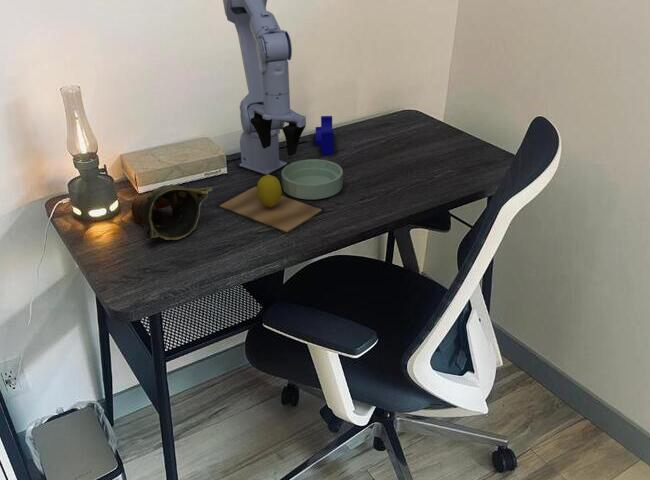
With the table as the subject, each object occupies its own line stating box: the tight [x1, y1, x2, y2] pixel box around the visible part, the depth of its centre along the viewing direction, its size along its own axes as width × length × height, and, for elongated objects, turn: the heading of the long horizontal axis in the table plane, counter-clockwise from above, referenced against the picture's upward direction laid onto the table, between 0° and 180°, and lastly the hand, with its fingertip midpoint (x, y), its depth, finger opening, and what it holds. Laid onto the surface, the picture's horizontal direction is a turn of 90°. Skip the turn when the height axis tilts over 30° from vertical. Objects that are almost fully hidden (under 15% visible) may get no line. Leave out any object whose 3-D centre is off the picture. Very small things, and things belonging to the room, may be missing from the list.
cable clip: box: [315, 115, 334, 156], centre depth 176 cm, size 12×4×6 cm, turn 179°
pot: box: [130, 183, 213, 241], centre depth 142 cm, size 17×11×18 cm
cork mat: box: [218, 186, 323, 233], centre depth 149 cm, size 20×12×1 cm, turn 51°
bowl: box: [280, 158, 344, 200], centre depth 156 cm, size 14×14×4 cm
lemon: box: [256, 174, 283, 208], centre depth 147 cm, size 6×6×8 cm
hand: (279, 150), depth 151 cm, fingers open, 7 cm apart
